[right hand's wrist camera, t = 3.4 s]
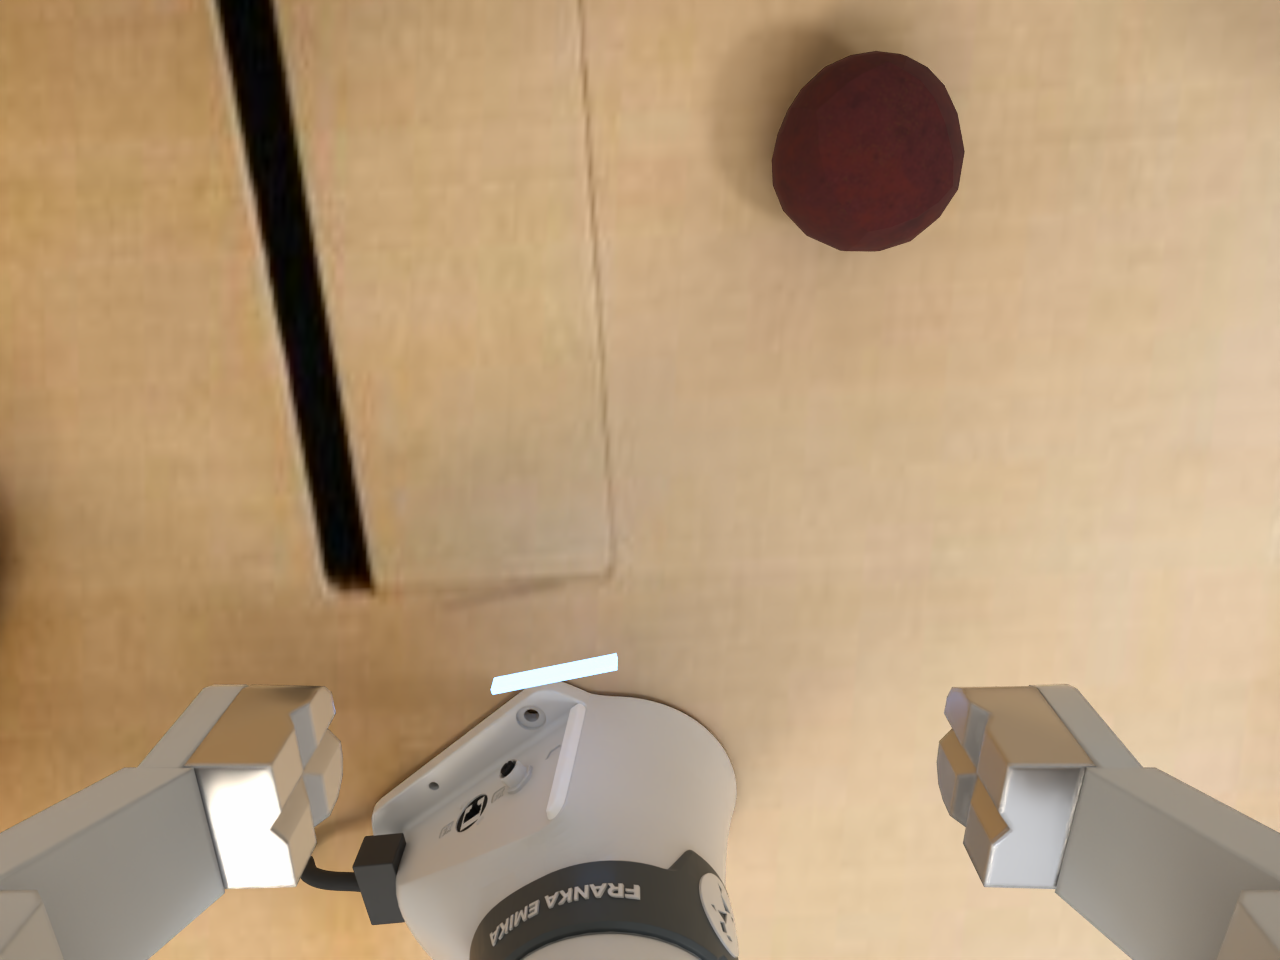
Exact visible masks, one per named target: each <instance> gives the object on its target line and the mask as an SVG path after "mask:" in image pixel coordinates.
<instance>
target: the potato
mask: <svg viewBox="0 0 1280 960" xmlns="http://www.w3.org/2000/svg"><path fill="white" fill-rule="evenodd" d="M963 157H964V146H963V141H962V135H961V130H960V125H959V119H958V114H957V112H956V109H955V107H954V105H953V103H952V101H951V99H950V96H949V94H948V92H947V90H946V88H945V86H944V85H943V83H942V82H941V81H940V80H939V79H938V78H937V77H936V76H935V75H934V74H933V73H932V72H931V71H930V70H929V68H928V67H926V66H924V65H922V64H920V63H918V62H917V61H915V60H913V59H911V58H909V57H907V56H905V55H901V54H895V53H887V52H879V51H873V52H868V53H862V54H856V55H850V56H848V57H846V58H844V59H841V60H839V61H837V62H835V63H833V64H830V65H828V66H826V67H825V68H823V69H822V70H821V71H820V72H819V73H818V74H817V75H816V76H815V77H814V78H813V79H812V80H811V81H810V82H808V83H807V84H806V85H805V86H804V87H803V88H802V89H801V90H800V92H799V94H798V95H797V97H796V98H795V100H794V101H793V103H792V105H791V106H790V108H789V109H788V111H787V113H786V116H785V118H784V120H783V123H782V125H781V128H780V130H779V132H778V135H777V139H776V144H775V149H774V153H773V158H772V175H773V186H774V189H775V191H776V194H777V196H778V199H779V201H780V204H781V206H782V209H783V211H784V212H785V213H786V214H787V215H788V216H789V217H790V218H791V219H792V221H793V222H794V223H795V224H796V225H797V226H798V227H799V228H800V229H801V230H802V231H803V232H804V233H805V234H806V235H807V236H809V237H811V238H813V239H816V240H818V241H820V242H822V243H825V244H827V245H829V246H831V247H834V248H836V249H838V250H841V251H881V250H884V249H887V248H890V247H894V246H897V245H900V244H903V243H906V242H909V241H911V240H912V239H914V238H915V237H916V236H917V235H918V234H920V233H921V232H922V231H923V230H925V229H926V228H927V227H928V226H930V225H931V224H932V223H933V222H934V221H936V220H937V219H938V218H939V217H940V216H941V214H942V213H943V211H944V210H945V208H946V207H947V205H948V204H949V202H950V201H951V199H952V198H953V196H954V194H955V193H956V191H957V190H958V187H959V181H960V175H961V169H962V163H963Z"/></svg>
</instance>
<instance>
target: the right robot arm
mask: <svg viewBox="0 0 1280 960" xmlns="http://www.w3.org/2000/svg"><path fill="white" fill-rule="evenodd" d="M617 662H618V658H617V654H616V653H615V654H610V655H605V656H600V657H595V658H590V659H585V660H580V661H575V662H570V663H565V664H560V665H555V666H550V667H545V668H540V669H535V670H530V671H525V672H520V673H515V674H510V675H505V676H500V677H495V678H494V680H493V683H492V687H491V692H492V695H494V694H499V693H504V692H509V691H514V690H519V689H524V688H525V689H524V690H522V691H521V692H520V693H518V694H517V695H516V696H514V697H513V698H512V699H511V700H509V701H508V702H507V703H505V704H504V705H503V706H501V707H500V708H499V709H497V710H496V711H495V712H493V713H492V714H491V715H490V716H488V717H487V718H486V719H484V720H483V721H482V722H480V723H479V724H478V725H476V726H475V727H474V728H473V729H471V730H470V731H469V732H467V733H466V734H465V735H463V736H462V737H461V738H459V739H458V740H457V741H455V742H454V743H453V744H452V745H450V746H449V747H448V748H446V749H445V750H444V751H442V752H441V753H440V754H438V755H437V756H436V757H435V758H433V759H432V760H431V761H429V762H428V763H427V764H425V765H424V766H423V767H421V768H420V769H419V770H417V771H416V772H415V773H414V774H412V775H411V776H410V777H408V778H407V779H406V780H404V781H403V782H402V783H400V784H399V785H398V786H396V787H395V788H394V789H393V790H391V791H390V792H389V793H387V794H386V795H385V796H384V797H382V798H381V799H380V800H379V801H378V802H377V803H376V805H375V807H374V810H373V814H372V829H373V835H374V836H366V837H364V840H363V842H362V845H361V847H360V850H359V852H358V855H357V857H356V860H355V862H354V865H353V870H354V872H333V871H326V870H322V869H319V868H317V867H316V866H315V862H314V859H313V857H312V856H311V855H312V852H313V850H314V848H315V846H316V844H317V841H316V835H315V830H314V827H315V826H316V825H318V824H319V823H321V822H322V821H323V820H325V819H326V818H327V817H329V816H330V815H331V812H332V810H333V808H334V806H335V803H336V801H337V799H338V795H339V791H340V786H341V781H342V777H343V754H342V747H341V741H340V740H339V739H338V738H337V737H336V736H335V735H334V734H333V733H332V732H331V731H330V730H329V729H328V727H329V725H330V723H331V721H332V719H333V718H334V716H335V714H336V711H335V707H334V702H333V697H332V692H331V691H330V690H329V689H327V688H326V687H325V686H290V685H250V686H249V685H211V686H208V687H206V688H203V689H202V690H201V692H200V693H199V694H198V695H197V696H196V698H195V699H194V700H193V701H192V702H191V704H190V705H189V706H188V707H187V708H186V709H185V711H184V712H183V713H182V714H181V715H180V717H179V718H178V719H177V720H176V721H175V723H174V724H173V725H172V726H171V727H170V729H169V730H168V731H167V732H166V733H165V735H164V736H163V737H162V738H161V739H160V740H159V742H158V743H157V744H156V745H155V746H154V748H153V749H152V750H151V751H150V752H149V754H148V755H147V756H146V757H145V758H144V760H143V761H142V762H141V763H140V764H139V766H138V767H137V768H123V769H121V770H119V771H117V772H115V773H113V774H111V775H109V776H108V777H106V778H104V779H102V780H100V781H98V782H96V783H94V784H92V785H90V786H89V787H87V788H85V789H83V790H81V791H79V792H77V793H75V794H73V795H71V796H70V797H68V798H66V799H64V800H62V801H60V802H58V803H56V804H54V805H52V806H51V807H49V808H47V809H45V810H43V811H41V812H39V813H37V814H35V815H33V816H32V817H30V818H28V819H26V820H24V821H22V822H20V823H18V824H16V825H14V826H13V827H11V828H9V829H7V830H5V831H3V832H1V833H0V960H148V959H149V958H150V957H151V956H152V955H154V954H155V953H156V952H157V951H158V950H159V949H161V948H162V947H163V946H164V945H165V944H166V943H167V942H169V941H170V940H171V939H172V938H173V937H174V936H176V935H177V934H178V933H179V932H180V931H181V930H183V929H184V928H185V927H186V926H187V925H188V924H189V923H191V922H192V921H193V920H194V919H195V918H196V917H198V916H199V915H200V914H201V913H202V912H203V911H204V910H206V909H207V908H208V907H209V906H210V905H211V904H213V903H214V902H215V901H216V900H217V899H218V898H220V897H221V896H222V895H223V894H224V893H225V890H224V889H240V888H275V887H296V886H297V884H298V882H299V879H300V878H301V879H302V880H303V881H304V882H305V883H307V884H309V885H311V886H313V887H316V888H320V889H325V890H335V891H356V892H361V894H362V897H363V900H364V903H365V906H366V909H367V912H368V915H369V918H370V921H371V924H372V925H379V924H390V923H401V922H406V924H407V926H408V928H409V930H410V931H411V933H412V934H413V936H414V937H415V939H416V940H417V942H418V943H419V944H420V946H421V947H422V948H423V949H424V951H425V952H426V953H427V954H428V955H429V956H430V957H431V958H432V959H433V960H738V955H739V948H738V939H737V932H736V926H735V920H734V915H733V911H732V907H731V903H730V900H729V896H728V893H727V891H726V856H727V844H728V835H729V829H730V823H731V819H732V815H733V812H734V808H735V803H736V795H737V787H736V779H735V774H734V770H733V767H732V764H731V762H730V759H729V757H728V755H727V753H726V752H725V750H724V749H723V747H722V746H721V744H720V743H719V742H718V740H717V739H716V738H715V737H714V736H713V735H712V734H711V733H710V732H709V731H708V730H707V729H706V728H705V727H704V726H703V725H701V724H700V723H699V722H697V721H696V720H694V719H693V718H691V717H690V716H688V715H686V714H684V713H683V712H681V711H679V710H676V709H674V708H672V707H669V706H667V705H664V704H661V703H658V702H654V701H650V700H646V699H640V698H633V697H620V696H604V695H597V694H591V693H589V692H586V691H584V690H582V689H579V688H577V687H575V686H572V685H570V684H567V683H564V682H561V681H564V680H569V679H574V678H579V677H584V676H589V675H595V674H600V673H605V672H610V671H615V670H617ZM529 709H533V710H536V711H537V712H538V713H535V714H531V713H529V712H528V711H527V710H529ZM944 714H945V716H946V718H947V720H948V721H949V723H950V725H951V727H952V729H951V730H950V731H949V732H948V733H947V734H946V735H945V736H944V737H943V738H942V739H941V740H940V741H939V748H938V756H937V772H938V784H939V788H940V791H941V795H942V799H943V801H944V804H945V806H946V808H947V810H948V812H949V815H950V816H951V817H953V818H954V819H955V820H957V821H958V822H959V823H961V824H962V825H964V826H965V827H966V830H965V835H964V841H963V844H964V846H965V848H966V850H967V852H968V855H969V857H970V859H971V861H972V863H973V865H974V867H975V869H976V871H977V873H978V875H979V877H980V879H981V881H982V883H983V886H984V887H1003V888H1039V889H1056V890H1055V893H1056V894H1057V895H1059V896H1060V897H1061V898H1062V899H1063V900H1064V901H1065V902H1067V903H1068V904H1069V905H1070V906H1071V907H1072V908H1074V909H1075V910H1076V911H1077V912H1078V913H1079V914H1080V915H1082V916H1083V917H1084V918H1085V919H1086V920H1087V921H1089V922H1090V923H1091V924H1092V925H1093V926H1094V927H1095V928H1097V929H1098V930H1099V931H1100V932H1101V933H1102V934H1104V935H1105V936H1106V937H1107V938H1108V939H1109V940H1110V941H1112V942H1113V943H1114V944H1115V945H1116V946H1117V947H1119V948H1120V949H1121V950H1122V951H1123V952H1124V953H1125V954H1127V955H1128V956H1129V957H1130V958H1131V959H1132V960H1280V833H1278V832H1277V831H1275V830H1273V829H1271V828H1269V827H1267V826H1265V825H1263V824H1261V823H1260V822H1258V821H1256V820H1254V819H1252V818H1250V817H1248V816H1246V815H1244V814H1242V813H1241V812H1239V811H1237V810H1235V809H1233V808H1231V807H1229V806H1227V805H1225V804H1224V803H1222V802H1220V801H1218V800H1216V799H1214V798H1212V797H1210V796H1208V795H1206V794H1205V793H1203V792H1201V791H1199V790H1197V789H1195V788H1193V787H1191V786H1189V785H1188V784H1186V783H1184V782H1182V781H1180V780H1178V779H1176V778H1174V777H1172V776H1171V775H1169V774H1167V773H1165V772H1163V771H1161V770H1159V769H1157V768H1143V767H1142V766H1141V764H1140V763H1139V762H1138V761H1137V760H1136V758H1135V757H1134V756H1133V755H1132V754H1131V752H1130V751H1129V750H1128V749H1127V748H1126V747H1125V745H1124V744H1123V743H1122V742H1121V741H1120V739H1119V738H1118V737H1117V736H1116V735H1115V733H1114V732H1113V731H1112V730H1111V729H1110V727H1109V726H1108V725H1107V724H1106V723H1105V722H1104V720H1103V719H1102V718H1101V717H1100V716H1099V714H1098V713H1097V712H1096V711H1095V710H1094V708H1093V707H1092V706H1091V705H1090V704H1089V702H1088V701H1087V700H1086V699H1085V698H1084V697H1083V695H1082V694H1081V693H1080V692H1079V691H1078V689H1076V688H1074V687H1072V686H1070V685H1069V684H1053V685H1029V686H1014V687H952V688H951V690H950V692H949V694H948V696H947V700H946V706H945V711H944Z"/></svg>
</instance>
